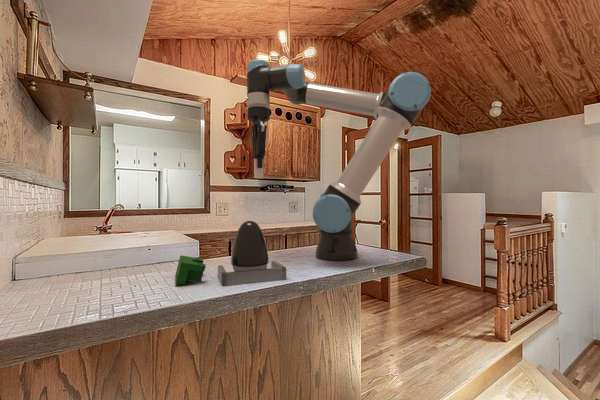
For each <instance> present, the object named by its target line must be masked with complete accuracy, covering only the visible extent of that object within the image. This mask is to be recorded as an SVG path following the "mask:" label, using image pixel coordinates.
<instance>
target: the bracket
mask: <svg viewBox="0 0 600 400" xmlns="http://www.w3.org/2000/svg"><path fill="white" fill-rule="evenodd" d="M270 263H271V265H270V266H271V267H270V268H269V267H267V268H266V269H256V270H245V271H234V270H233V271H226V269H225V268H224V266H223V265H221V264H220V265H217V277H218V280H219V282H220V284H221V286H222V287H225V286H226V287H227V286H236V285H245V284H254V283H256V284H257V283H262V282H263V283H264V282H273V281H282V280H283V281H285V280H287V267H286V266H284V265H283V264H281V263H280V262H278V261H277V260H271V261H270Z"/></svg>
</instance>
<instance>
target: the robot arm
mask: <svg viewBox="0 0 600 400" xmlns="http://www.w3.org/2000/svg"><path fill="white" fill-rule="evenodd" d="M305 74H306V73H305V69H304V66H303V64H300V63H298V64H297V63H289V64H283V65H282V64H281V65H274V66H270V64H269V62H268V61H266V60H265V59H259V58H257V59H252V60H250V61H248V63H247V67H246V95H247V96H246V97H245V101H247V102H246V103H247V105H246V106H247V109H246V110H247V111H246V116H247V121H249V122H252V126H251V133H250V135H251V144H252V145H251V146H252V158H253V160H254V179H264V160H265V156H266V146H267V145H266V144H267V143H266V142H267V141H266V139H267V130H268V126H267V124H265V123H266V122H269V121H270V114H271V112H270V111H271V110H270V107H271V106H270V105H271V104H270V101H271V100H270V97H271V96H270V92H271V91H274V92H275V91H282V93H284V96H285V97H286V99H287V100H288V101H289V103H291V104H293V105H296V106H299V105H302V104H306V105H312V106H316V107H322V108H327V109H334V110H338V111H343V112H348V113H349V112H350V113H354V114H361V115H365V116H372V117H373V118H374V120H375V121H374V123H373V124H372V126H371V127H370V129H369V131H368V132H367V134H366V135H365V137H364V138H363V139H362V142H361V143H360V145H359V146H358V148H357V149H356V151H355V153H354V154H353V155H352V157H351V158H350V160H349V162H348V164H347V165H346V167H345V168H344V169H343V171H342V173H341V174H340V176H339V178H338V179H337V180H336V181H335V182H330V183H329V185H328V186H327V188H326V189H325V190H324V192H323V193H321V194H320V196H319V198H318V199H317V200H316V201H315V203H314V204H313V207H312V219H313V221H314V223H315V225H316V226H317V227H318V228H319V230H320V234H319V240H318V243H317V246H316V248H315V258H317V259H320V260H325V261H350V260H349V259H352V260H355V259H354V258H356V259H357V258H359V257H358V255H359V254H358V248H357V245H356V243H355V239H354V237H353V216H354V215H355V213H356V212H357V210H358V209H359V207H360V206H361V204H362V201H361V196H362V194H363V192H364V191H365V189H366V188H367V186H368V185H369V183H370V182H371V180H372V179H373V177H374V175H375V174H376V172H377V171H378V169H379V167H380V166H381V164H382V163H383V161H384V160H385V158H386V157H387V155H388V154H389V152H390V151H391V149H392V148H393V146H394V145H395V143H396V141H397V140H398V138H399V136H400V135H401V134H402V132H403V131H406V130H409V129H411V127H413V124H414V123H415V121H416V119H418V117H419V115H420V114H421V112H422V111H423V110H424V107H425V106H426V105H427V104H428V103H429V101H430V99H431V94H432V88H431V85H430V81H429V80H428V79H427V78H426V77H425V76H424V75H423V74H421V73H419V72H415V71H414V72H413V71H407V72H403V73H400V74H399V75H398V76H396V77H395V78H394V79H393V80H392V82H391V83H390V84H389V87H388V91H380V92H379V93H375V92H369V91H363V90H355V89H351V88H344V87H337V86H331V85H326V84H320V83H319V84H318V83H314V82H307V81H306V75H305Z"/></svg>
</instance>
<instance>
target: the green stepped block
mask: <svg viewBox="0 0 600 400" xmlns="http://www.w3.org/2000/svg"><path fill="white" fill-rule="evenodd" d="M206 266H207V264H206V263H204V259H203V258H199V257H194V256H193V257H192V256H188V255H187V256H186V255H180V256H179V260H178V263H177V268H176V271H175V275H174V276H175V277H174V278H175V279H174V280H175V281H174V283H175V285H177V286H186V281H189V282H198V283H201V282H202V279H203V274H204V272H205V269H206Z"/></svg>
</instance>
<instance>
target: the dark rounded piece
mask: <svg viewBox="0 0 600 400" xmlns="http://www.w3.org/2000/svg"><path fill="white" fill-rule="evenodd" d="M236 232H237V233H236V235H235V238H234V242H233V246H232V251H231V258H230V264H231V265H232V270H233V272H234V271H245V270H256V269H267V268H268V264H269V263H270V262H269V253H268V252H269V250H268V247H267V242H266V238H265V236H264V233H263V230H262V229H261V227H260V225H259V224H258V223H257V222H256V221H253V220H246V221H244V222H243V223H241V225H240V226H239V228H238V230H237V231H236Z"/></svg>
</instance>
